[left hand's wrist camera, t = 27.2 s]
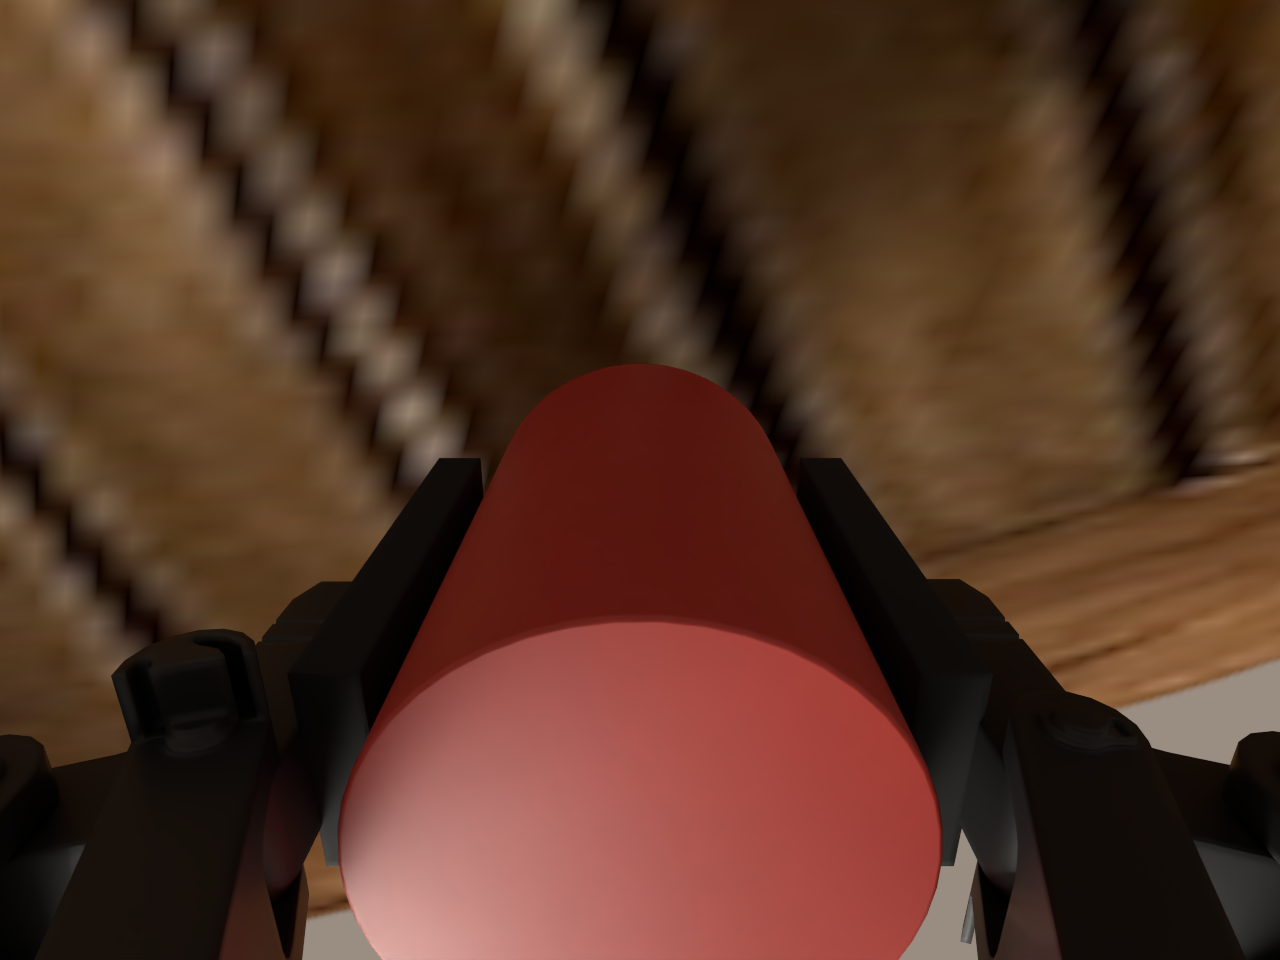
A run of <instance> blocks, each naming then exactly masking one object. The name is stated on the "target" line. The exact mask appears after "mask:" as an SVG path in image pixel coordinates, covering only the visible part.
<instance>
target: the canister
mask: <svg viewBox="0 0 1280 960" xmlns="http://www.w3.org/2000/svg"><path fill="white" fill-rule="evenodd" d="M337 832H338V860H339V867H340V872H341V876H342V881H343V886H344V891H345V894H346V896H347V899H348V901H349V904H350V906H351V909H352V912H353V914H354V917H355V919H356V921H357V923H358V924H359V926H360V928H361V929H362V931H363V933H364V935H365V936H366V938H367V940H368V941H369V943H370V945H371V946H372V947H373V949H374V950H375V951H376V952H377V954H378V955H379V956H380V957H381V959H382V960H898V959H899V958H900V957H901V955H902V954H903V953H904V952H905V950H906V949H907V948H908V946H909V945H910V944H911V942H912V941H913V939H914V937H915V935H916V934H917V932H918V930H919V928H920V926H921V925H922V923H923V921H924V919H925V917H926V916H927V913H928V911H929V908H930V905H931V902H932V899H933V897H934V894H935V891H936V889H937V884H938V879H939V873H940V868H941V863H942V855H943V823H942V818H941V812H940V806H939V800H938V795H937V792H936V789H935V786H934V783H933V781H932V778H931V775H930V772H929V770H928V767H927V764H926V762H925V760H924V758H923V756H922V754H921V752H920V750H919V748H918V746H917V744H916V742H915V740H914V737H913V735H912V733H911V731H910V729H909V727H908V725H907V723H906V721H905V719H904V717H903V715H902V713H901V711H900V709H899V707H898V705H897V702H896V700H895V698H894V696H893V694H892V692H891V690H890V688H889V686H888V684H887V682H886V680H885V678H884V676H883V674H882V672H881V670H880V667H879V665H878V663H877V661H876V659H875V657H874V655H873V653H872V651H871V649H870V647H869V645H868V643H867V641H866V639H865V637H864V635H863V632H862V630H861V628H860V626H859V624H858V622H857V620H856V618H855V616H854V614H853V612H852V610H851V608H850V606H849V604H848V602H847V600H846V597H845V595H844V593H843V591H842V589H841V587H840V585H839V583H838V581H837V579H836V577H835V575H834V573H833V571H832V569H831V567H830V565H829V562H828V560H827V558H826V556H825V554H824V552H823V550H822V548H821V546H820V544H819V542H818V540H817V538H816V536H815V534H814V532H813V530H812V527H811V525H810V523H809V521H808V519H807V517H806V515H805V513H804V511H803V509H802V507H801V505H800V503H799V501H798V499H797V497H796V495H795V492H794V490H793V488H792V486H791V484H790V482H789V480H788V478H787V476H786V474H785V472H784V470H783V468H782V466H781V464H780V462H779V460H778V457H777V455H776V453H775V451H774V449H773V447H772V445H771V443H770V441H769V439H768V438H767V436H766V434H765V432H764V430H763V429H762V427H761V425H760V424H759V423H758V422H757V420H756V419H755V418H754V416H753V415H752V414H751V412H750V411H749V410H748V409H747V408H746V407H745V406H744V405H743V404H742V403H741V402H740V401H739V400H738V399H736V398H735V397H734V396H732V395H731V394H730V393H729V392H727V391H726V390H725V389H723V388H722V387H720V386H718V385H716V384H715V383H713V382H711V381H709V380H708V379H706V378H703V377H701V376H698V375H696V374H693V373H691V372H688V371H685V370H681V369H677V368H673V367H669V366H662V365H654V364H625V365H618V366H611V367H606V368H603V369H599V370H595V371H592V372H589V373H586V374H584V375H582V376H579V377H577V378H575V379H572V380H571V381H569V382H567V383H565V384H564V385H562V386H560V387H559V388H557V389H555V390H554V391H553V392H552V393H550V394H549V395H548V396H546V397H545V398H544V399H543V400H541V401H540V402H539V403H538V404H537V405H536V406H535V407H534V409H533V410H532V411H531V412H530V413H529V414H528V415H527V416H526V418H525V419H524V420H523V422H522V423H521V425H520V426H519V427H518V429H517V430H516V432H515V434H514V436H513V438H512V440H511V442H510V444H509V446H508V448H507V450H506V452H505V454H504V456H503V458H502V460H501V462H500V464H499V466H498V468H497V470H496V472H495V475H494V477H493V479H492V481H491V483H490V485H489V487H488V489H487V491H486V493H485V495H484V497H483V499H482V501H481V503H480V505H479V508H478V510H477V512H476V514H475V516H474V518H473V520H472V522H471V524H470V526H469V528H468V530H467V532H466V534H465V536H464V539H463V541H462V543H461V545H460V547H459V549H458V551H457V553H456V555H455V557H454V559H453V561H452V563H451V565H450V567H449V569H448V572H447V574H446V576H445V578H444V580H443V582H442V584H441V586H440V588H439V590H438V592H437V594H436V596H435V598H434V600H433V602H432V605H431V607H430V609H429V611H428V613H427V615H426V617H425V619H424V621H423V623H422V625H421V627H420V629H419V631H418V633H417V636H416V638H415V640H414V642H413V644H412V646H411V648H410V650H409V652H408V654H407V656H406V658H405V660H404V662H403V664H402V666H401V669H400V671H399V673H398V675H397V677H396V679H395V681H394V683H393V685H392V687H391V689H390V691H389V693H388V695H387V697H386V700H385V702H384V704H383V706H382V708H381V710H380V712H379V714H378V716H377V718H376V720H375V722H374V724H373V726H372V728H371V730H370V733H369V735H368V737H367V739H366V741H365V743H364V745H363V747H362V749H361V751H360V753H359V755H358V757H357V759H356V761H355V764H354V766H353V768H352V770H351V773H350V776H349V779H348V782H347V785H346V788H345V791H344V794H343V797H342V801H341V808H340V815H339V822H338V829H337Z"/></svg>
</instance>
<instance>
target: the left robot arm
mask: <svg viewBox="0 0 1280 960" xmlns="http://www.w3.org/2000/svg"><path fill="white" fill-rule="evenodd" d="M483 497H484V496H483V484H482V472H481V460H480V458H439V459H438V461H437V462H436V464H435V465H434V467H433V468H432V469H431V471H430V472H429V474H428V475H427V476H426V478H425V479H424V481H423V482H422V483H421V485H420V486H419V488H418V489H417V491H416V492H415V493H414V495H413V496H412V498H411V499H410V500H409V502H408V503H407V505H406V506H405V508H404V509H403V510H402V512H401V513H400V515H399V516H398V517H397V519H396V520H395V522H394V523H393V525H392V526H391V527H390V529H389V530H388V532H387V533H386V534H385V536H384V537H383V539H382V540H381V541H380V543H379V544H378V546H377V547H376V549H375V550H374V551H373V553H372V554H371V556H370V557H369V558H368V560H367V561H366V563H365V564H364V566H363V567H362V568H361V570H360V571H359V573H358V574H357V575H356V577H355V578H354V580H353V581H352V582H320V583H318V584H317V585H315V586H314V587H312V588H310V589H309V590H307V591H306V592H304V593H302V594H301V595H299V596H298V597H296V598H294V599H293V600H292V601H291V603H290V604H289V605H288V606H287V607H286V609H285V610H284V611H283V612H282V614H281V615H280V616H279V617H278V619H277V620H276V624H273V625H272V626H271V627H270V628H269V630H268V631H267V632H266V633H265V634H264V636H263V637H262V642H258V643H257V644H256V645H255V643H254V640H252V639H251V638H250V637H248V636H247V635H245V634H244V633H243V632H238V631H233V630H227V629H210V630H197V631H193V632H189V633H184V634H180V635H176V636H172V637H169V638H167V639H164V640H162V641H159V642H157V643H155V644H152V645H150V646H147V647H145V648H144V649H142V650H141V651H139V652H137V653H136V654H134V655H133V656H131V657H130V658H128V659H126V660H125V661H124V662H123V663H122V664H121V665H120V666H119V668H118V669H117V670H116V671H115V672H114V673H113V674H112V675H111V677H112V680H113V684H114V687H115V690H116V693H117V697H118V700H119V703H120V706H121V710H122V713H123V716H124V719H125V723H126V726H127V729H128V732H129V736H130V739H131V744H130V747H129V749H128V751H127V752H124V753H120V754H117V755H112V756H108V757H103V758H98V759H93V760H88V761H84V762H79V763H74V764H69V765H64V766H60V767H55V768H51V765H50V762H49V760H48V757H47V754H46V751H45V749H44V746H43V745H42V744H41V743H39V742H38V741H37V740H35V739H34V738H32V737H30V736H20V735H10V734H9V735H2V736H0V960H302V955H303V945H304V936H305V927H306V917H307V908H308V899H309V891H308V885H307V879H306V874H305V869H304V865H303V863H304V861H305V859H306V857H307V855H308V853H309V851H310V849H311V847H312V845H313V842H314V840H315V838H316V836H317V834H318V832H319V831H320V836H321V841H322V846H323V851H324V856H325V860H326V865H327V866H339V860H338V832H337V829H338V822H339V815H340V808H341V801H342V797H343V794H344V791H345V788H346V785H347V782H348V779H349V776H350V773H351V770H352V768H353V766H354V764H355V761H356V759H357V757H358V755H359V753H360V751H361V749H362V747H363V745H364V743H365V741H366V739H367V737H368V735H369V733H370V730H371V728H372V726H373V724H374V722H375V720H376V718H377V716H378V714H379V712H380V710H381V708H382V706H383V704H384V702H385V700H386V697H387V695H388V693H389V691H390V689H391V687H392V685H393V683H394V681H395V679H396V677H397V675H398V673H399V671H400V669H401V666H402V664H403V662H404V660H405V658H406V656H407V654H408V652H409V650H410V648H411V646H412V644H413V642H414V640H415V638H416V636H417V633H418V631H419V629H420V627H421V625H422V623H423V621H424V619H425V617H426V615H427V613H428V611H429V609H430V607H431V605H432V602H433V600H434V598H435V596H436V594H437V592H438V590H439V588H440V586H441V584H442V582H443V580H444V578H445V576H446V574H447V572H448V569H449V567H450V565H451V563H452V561H453V559H454V557H455V555H456V553H457V551H458V549H459V547H460V545H461V543H462V541H463V539H464V536H465V534H466V532H467V530H468V528H469V526H470V524H471V522H472V520H473V518H474V516H475V514H476V512H477V510H478V508H479V505H480V503H481V501H482V499H483ZM797 499H798V501H799V503H800V505H801V507H802V509H803V511H804V513H805V515H806V517H807V519H808V521H809V523H810V525H811V527H812V530H813V532H814V534H815V536H816V538H817V540H818V542H819V544H820V546H821V548H822V550H823V552H824V554H825V556H826V558H827V560H828V562H829V565H830V567H831V569H832V571H833V573H834V575H835V577H836V579H837V581H838V583H839V585H840V587H841V589H842V591H843V593H844V595H845V597H846V600H847V602H848V604H849V606H850V608H851V610H852V612H853V614H854V616H855V618H856V620H857V622H858V624H859V626H860V628H861V630H862V632H863V635H864V637H865V639H866V641H867V643H868V645H869V647H870V649H871V651H872V653H873V655H874V657H875V659H876V661H877V663H878V665H879V667H880V670H881V672H882V674H883V676H884V678H885V680H886V682H887V684H888V686H889V688H890V690H891V692H892V694H893V696H894V698H895V700H896V702H897V705H898V707H899V709H900V711H901V713H902V715H903V717H904V719H905V721H906V723H907V725H908V727H909V729H910V731H911V733H912V735H913V737H914V740H915V742H916V744H917V746H918V748H919V750H920V752H921V754H922V756H923V758H924V760H925V762H926V764H927V767H928V770H929V772H930V775H931V778H932V781H933V783H934V786H935V789H936V792H937V795H938V800H939V806H940V812H941V818H942V823H943V855H942V863H941V866H954V863H955V858H956V853H957V848H958V843H959V839H960V833H961V829H963V831H964V834H965V836H966V837H967V839H968V842H969V844H970V846H971V848H972V850H973V852H974V854H975V856H976V858H977V865H976V870H975V874H974V878H973V883H972V888H971V892H970V897H969V901H968V906H967V910H966V915H965V919H964V924H963V930H962V936H961V942H965V943H969V944H971V942H972V937H973V933H974V928H975V934H976V944H977V953H978V960H1280V732H1275V731H1269V732H1259V733H1251V734H1249V735H1248V736H1246V737H1245V738H1243V739H1242V740H1241V741H1239V742H1238V745H1237V748H1236V750H1235V753H1234V756H1233V759H1232V761H1231V764H1230V765H1227V764H1222V763H1217V762H1213V761H1208V760H1203V759H1198V758H1193V757H1189V756H1184V755H1179V754H1174V753H1169V752H1165V751H1161V750H1158V749H1154V748H1152V747H1151V745H1150V743H1149V741H1148V740H1147V738H1146V737H1145V736H1144V734H1143V733H1142V732H1141V730H1140V729H1139V728H1138V726H1137V725H1136V724H1135V723H1133V722H1132V721H1131V720H1129V719H1128V718H1127V717H1125V716H1124V715H1123V714H1121V713H1120V712H1119V711H1117V710H1116V709H1114V708H1111V707H1109V706H1107V705H1105V704H1103V703H1101V702H1099V701H1096V700H1094V699H1092V698H1089V697H1085V696H1081V695H1078V694H1074V693H1070V692H1066V691H1065V690H1064V689H1063V688H1062V686H1061V685H1060V684H1059V683H1058V682H1057V680H1056V679H1055V678H1054V677H1053V675H1052V674H1051V673H1050V672H1049V671H1048V669H1047V668H1046V667H1045V666H1044V665H1043V663H1042V662H1041V661H1040V660H1039V658H1038V657H1037V656H1036V655H1035V654H1034V652H1033V651H1032V650H1031V649H1030V647H1029V646H1028V645H1027V644H1026V643H1025V641H1024V640H1023V639H1019V634H1018V633H1017V632H1016V630H1015V629H1014V628H1013V627H1012V626H1011V624H1010V623H1009V622H1005V617H1004V616H1003V615H1002V613H1001V612H1000V611H999V610H998V609H997V607H996V606H995V605H994V604H993V602H992V601H991V600H990V599H989V598H988V597H987V596H986V595H984V594H982V593H981V592H979V591H978V590H976V589H974V588H973V587H971V586H970V585H968V584H966V583H965V582H963V581H962V580H960V579H926V578H925V576H924V575H923V573H922V572H921V570H920V569H919V568H918V566H917V565H916V563H915V562H914V561H913V559H912V558H911V556H910V555H909V554H908V552H907V551H906V549H905V548H904V546H903V545H902V544H901V542H900V541H899V539H898V538H897V537H896V535H895V534H894V532H893V531H892V529H891V528H890V527H889V525H888V524H887V522H886V521H885V520H884V518H883V517H882V515H881V514H880V512H879V511H878V510H877V508H876V507H875V505H874V504H873V503H872V501H871V500H870V498H869V497H868V496H867V494H866V493H865V491H864V490H863V488H862V487H861V486H860V484H859V483H858V481H857V480H856V479H855V477H854V476H853V474H852V473H851V471H850V470H849V469H848V467H847V466H846V464H845V463H844V462H843V460H842V459H841V458H800V466H799V478H798V490H797Z"/></svg>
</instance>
